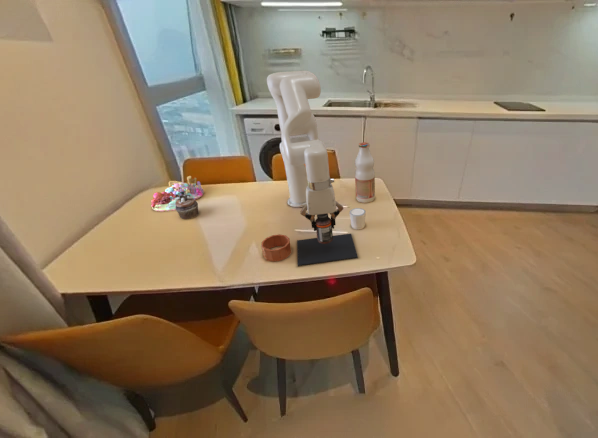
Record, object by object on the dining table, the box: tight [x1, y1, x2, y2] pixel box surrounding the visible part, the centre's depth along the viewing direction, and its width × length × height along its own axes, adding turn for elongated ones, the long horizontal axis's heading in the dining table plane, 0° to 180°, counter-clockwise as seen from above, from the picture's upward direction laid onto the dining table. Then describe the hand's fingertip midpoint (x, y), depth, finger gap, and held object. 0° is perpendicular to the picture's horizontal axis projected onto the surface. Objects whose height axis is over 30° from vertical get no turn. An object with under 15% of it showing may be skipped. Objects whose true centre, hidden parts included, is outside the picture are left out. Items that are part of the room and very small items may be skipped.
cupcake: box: [175, 193, 200, 220], centre depth 147 cm, size 10×10×10 cm
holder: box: [260, 233, 292, 262], centre depth 120 cm, size 10×10×5 cm
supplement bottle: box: [315, 213, 334, 244], centre depth 117 cm, size 6×6×11 cm
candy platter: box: [150, 175, 205, 212], centre depth 162 cm, size 25×24×9 cm
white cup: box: [349, 207, 366, 230], centre depth 134 cm, size 7×7×7 cm
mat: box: [296, 233, 359, 267], centre depth 122 cm, size 16×22×1 cm
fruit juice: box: [354, 141, 376, 204], centre depth 150 cm, size 9×9×28 cm
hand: (323, 227), depth 117 cm, fingers closed on supplement bottle, 6 cm apart
